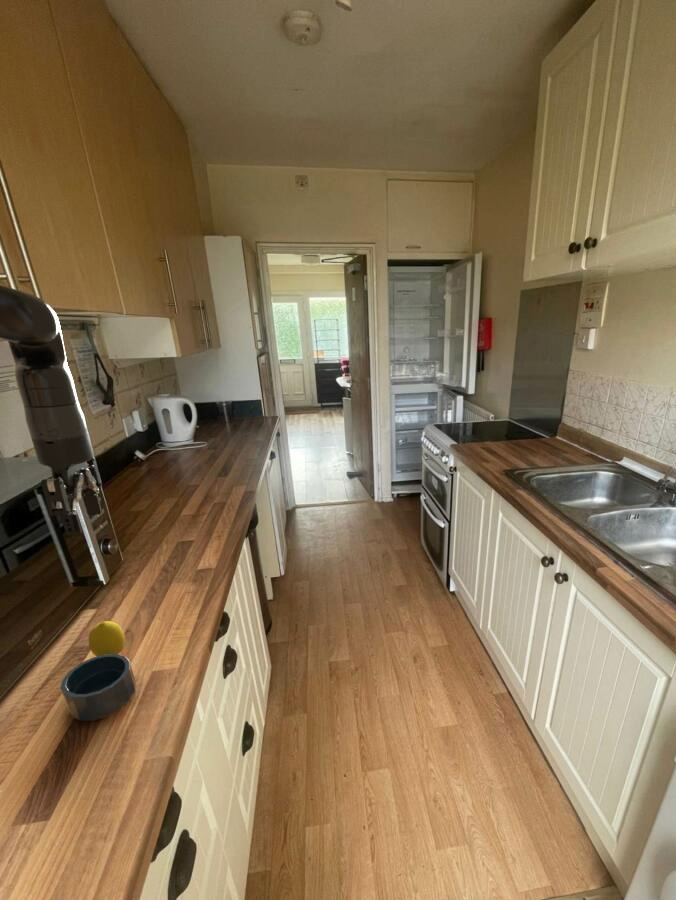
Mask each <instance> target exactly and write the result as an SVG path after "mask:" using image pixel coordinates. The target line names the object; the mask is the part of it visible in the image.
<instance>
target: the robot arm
mask: <svg viewBox="0 0 676 900" xmlns="http://www.w3.org/2000/svg"><path fill="white" fill-rule="evenodd" d="M0 339H1V340H5V341H7V343H8V346H9V350H10V352H11V355H12V358H13V361H14V378H15V382H16V386H17V389H18V393H19V395H20V398H21V402H22V406H23V408H24V418H25V422H26V425H27V429H28V432H29V435H30V439H31V442H32V445H33V449H34V452H35V455H36V458H37V461H38V463H39V464H40V465H41V466H46V467H49V469H51V478H43V479H41V481H40V484H41V488H42V492H43V496H44V499H45V503H46V506H47V507H46V508H47V510H48V513H49V516H50V517H60V519H61V522H62V525H63V529H64V532H65V535H66V536H68V537H71V536H72V537H73V536H74V537H75V536H80V535H81V534H83V528H82V524H81V520H80V517H79V513H78V502H79V501H81V499H83V503H84V507H85V510H86V513H87V515H89V516H98V515H99V516H100V515H101V514H102V513H103V508H102V505H101V501H100V498H99V493H100V489H99V488H102V487H103V481H102V479H101V475H100V471H99V468H98V464H97V460H96V458H95V452H94V449H93V445H92V441H91V437H90V433H89V430H88V425H87V421H86V418H85V414H84V412H83V410H82V407H81V405H80V402H79V398H78V393H77V390H76V386H75V382H74V379H73V376H72V373H71V371H70V368H69V366H68V362H67V356H66V350H65V345H64V339H63V334H62V330H61V325H60V321H59V317H58V316H57V313H56V311H55V310H54V309H53V308H52V307H51V305H50V304H49V303H47V302H46V301H45V300H43V299H42V298H40V297H38V296H36V295H34V294H32V293H28V292H25V291H22V290H19V289H15V288H12V287H9V286H6V285H2V284H0ZM82 495H83V496H82Z"/></svg>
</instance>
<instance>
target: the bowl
mask: <svg viewBox="0 0 676 900" xmlns="http://www.w3.org/2000/svg"><path fill="white" fill-rule="evenodd" d="M59 689H60V691H61V693H62V697H63V699H64V701H65V705H66V708H67V710H68V713H69V714H70V716H71V718H73V719H75V720H78V721H80V722H87V721H88V722H89V721H91V722H92V721H96V720H97V721H98V720H100V719H105V718H106V717H109V716H112V715H113V714H115V713H117V712H119V711H120V710H122V708H123V707H125V706H126V705H127V704H128V703H129V702H130V701H131V700H132V698H133V697H134V695H135V693H136V691H137V682H136V679H135V675H134V672H133V668H132V665H131V662H130V660H129V659H128V657H127V656H126V655H122V654H120V653H119V654H105V655H101V656H93V657H91V658H89V659H86V660H84V661H82V662H80V663H79V664H77V665H76V666H75V667H73V668H72V669H70V670H69V672H67V673H66V675H65V676H64V677H63V678H62V680H61V684H60V688H59Z"/></svg>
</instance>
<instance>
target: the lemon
mask: <svg viewBox="0 0 676 900" xmlns="http://www.w3.org/2000/svg"><path fill="white" fill-rule="evenodd" d="M125 644H126V635H125V633H124V631H123V629H122V626H120V625H119V624H118V623H116V622H114V621H111V620H110V621H109V620H106V621H105V620H104V621H101V622H99V623H97V624H96V625H95V626H93V627H92V628H91V630H90V632H89V635H88V647H89V649H90V651H91V653H92V654H93V655H94V657H97V656H101V655H105V654H119V655H120V654H121V652H122V651H123V649H124V647H125Z"/></svg>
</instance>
